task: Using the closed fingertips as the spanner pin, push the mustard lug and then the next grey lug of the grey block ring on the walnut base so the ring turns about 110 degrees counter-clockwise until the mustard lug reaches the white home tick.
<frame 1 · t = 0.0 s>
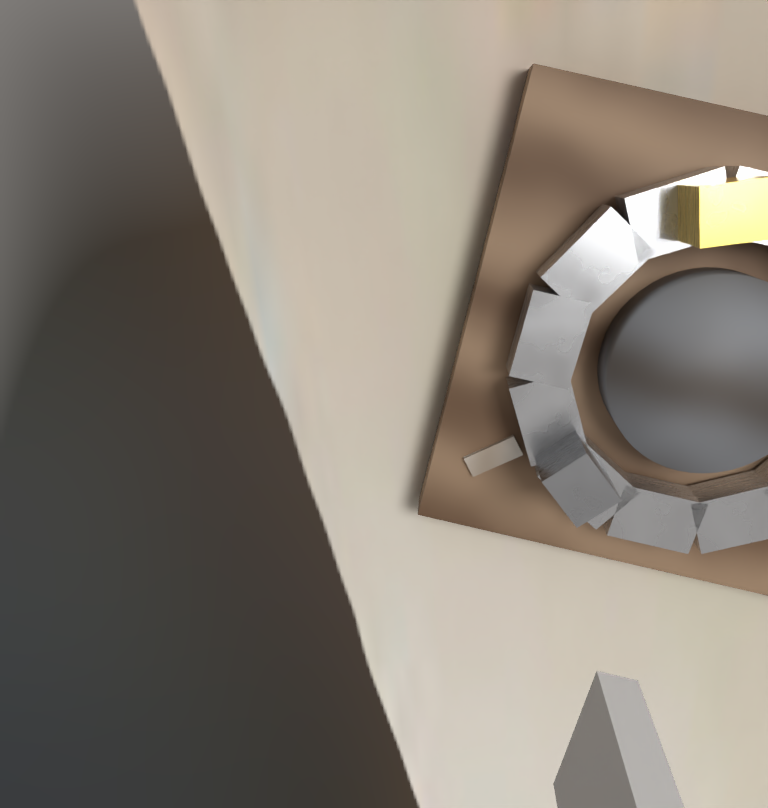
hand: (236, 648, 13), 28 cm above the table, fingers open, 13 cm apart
walnut base: (684, 354, 39), on the table
grey block ring: (715, 380, 34), point 5 cm above the table, hinge at 0.0°
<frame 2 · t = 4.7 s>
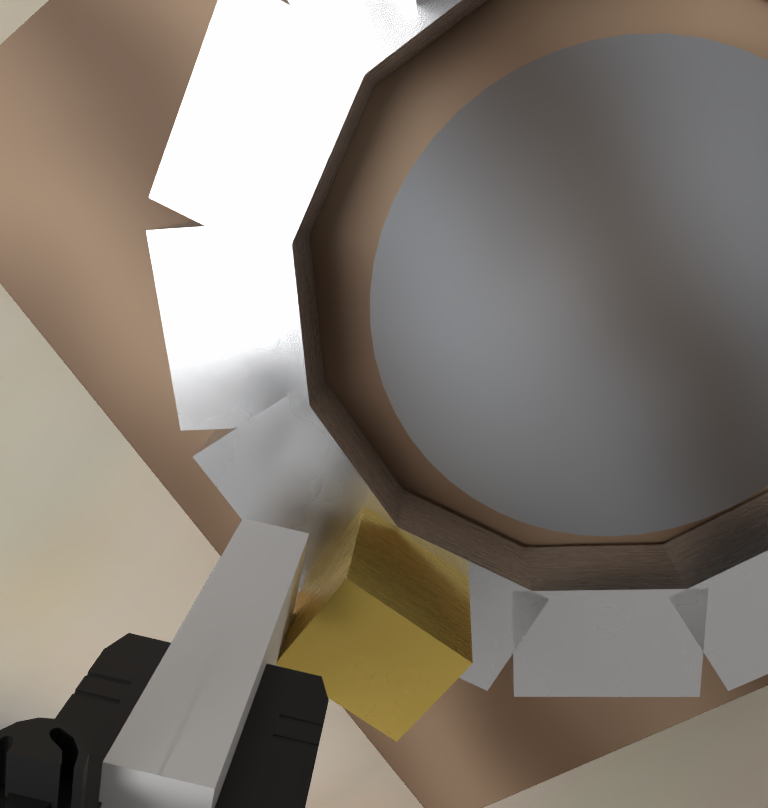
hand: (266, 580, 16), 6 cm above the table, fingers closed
walnut base: (580, 278, 18), on the table
grey block ring: (623, 315, 14), point 5 cm above the table, hinge at 0.0°, touching gripper
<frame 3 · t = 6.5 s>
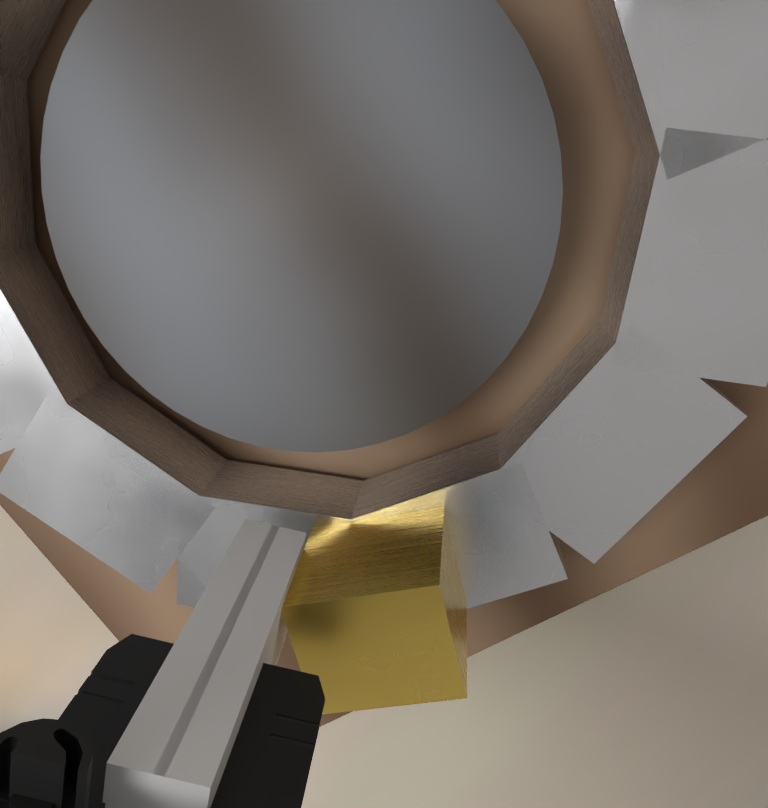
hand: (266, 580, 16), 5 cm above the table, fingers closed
walnut base: (334, 195, 18), on the table
grey block ring: (289, 210, 13), point 5 cm above the table, hinge at 49.4°, touching gripper
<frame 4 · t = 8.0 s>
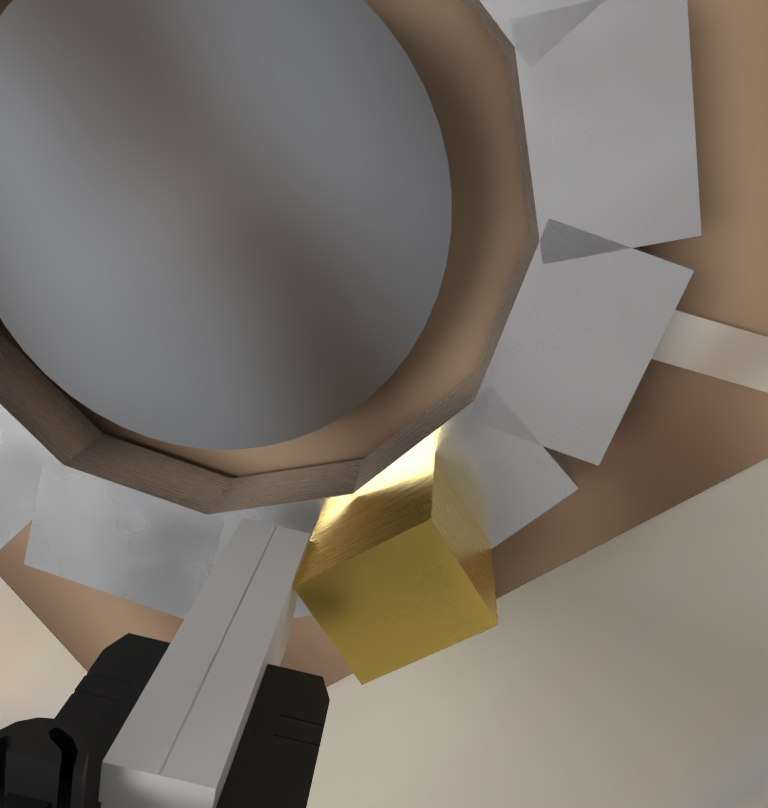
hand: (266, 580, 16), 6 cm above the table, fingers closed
walnut base: (256, 203, 18), on the table
grey block ring: (193, 217, 14), point 5 cm above the table, hinge at 66.6°
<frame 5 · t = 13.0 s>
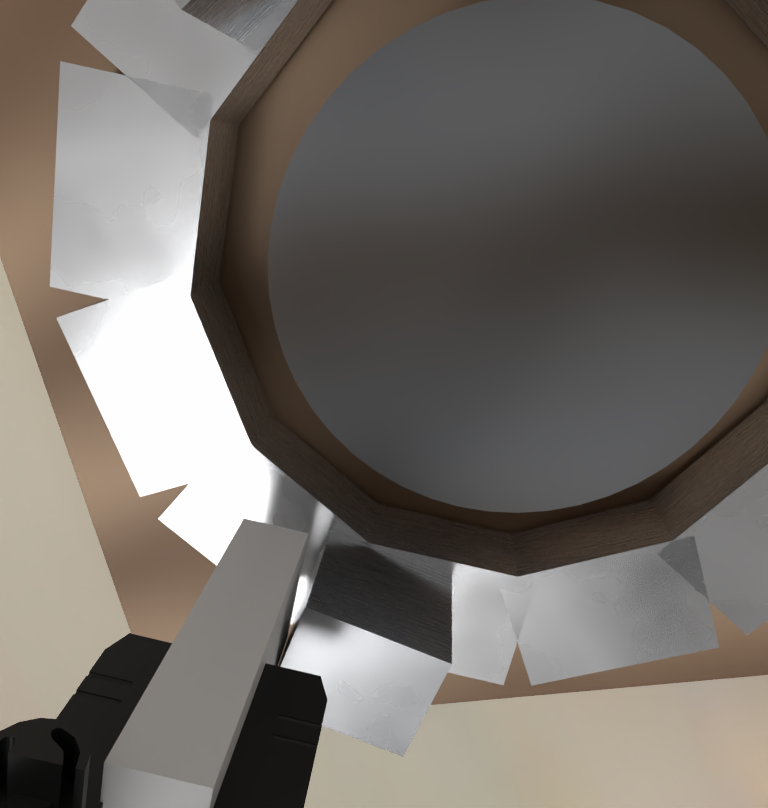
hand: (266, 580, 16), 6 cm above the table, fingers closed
walnut base: (503, 254, 18), on the table
grey block ring: (520, 286, 14), point 5 cm above the table, hinge at 67.6°, touching gripper
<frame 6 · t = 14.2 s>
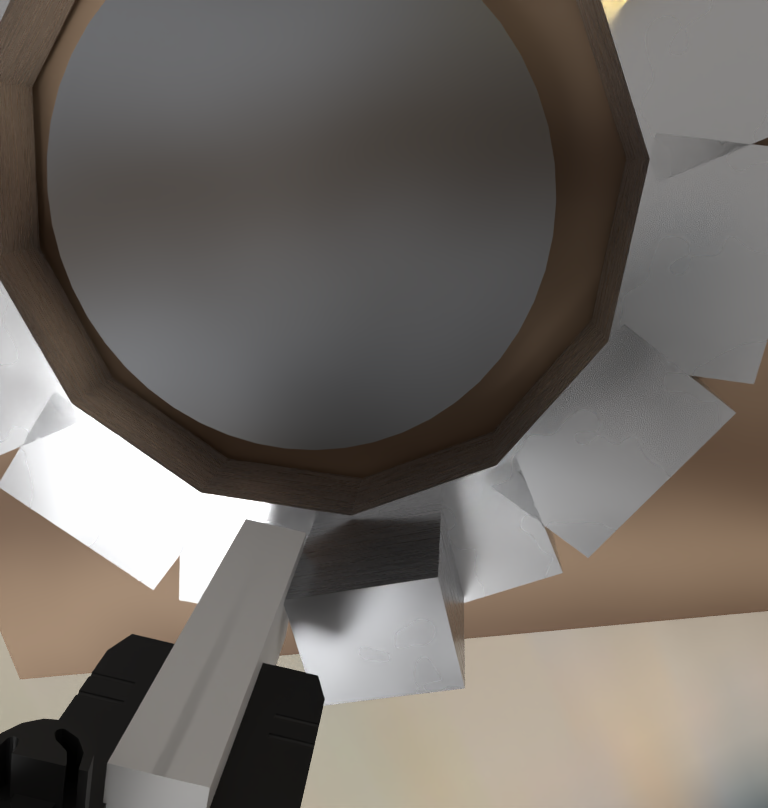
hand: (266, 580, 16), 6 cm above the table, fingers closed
walnut base: (332, 199, 18), on the table
grey block ring: (290, 213, 14), point 5 cm above the table, hinge at 102.9°, touching gripper
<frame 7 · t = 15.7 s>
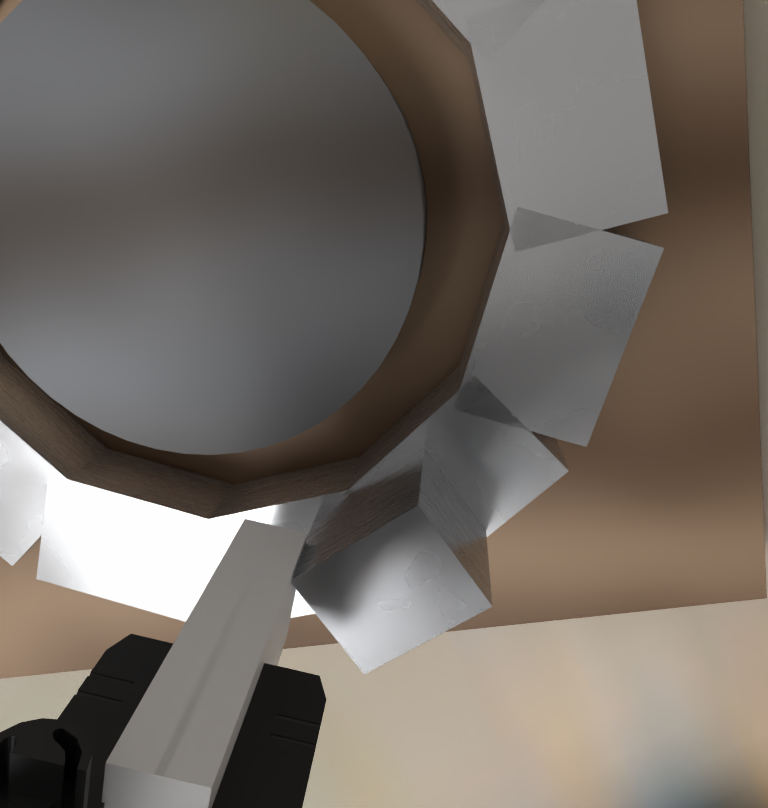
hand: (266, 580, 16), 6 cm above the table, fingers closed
walnut base: (241, 215, 19), on the table
grey block ring: (173, 229, 14), point 5 cm above the table, hinge at 124.2°, touching gripper
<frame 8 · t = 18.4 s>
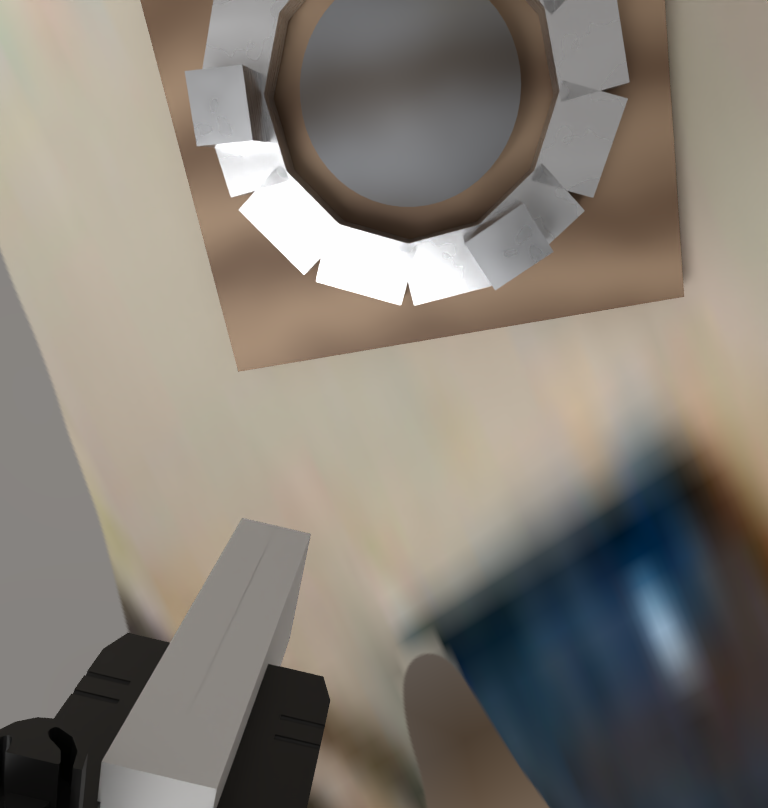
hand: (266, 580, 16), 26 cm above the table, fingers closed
walnut base: (413, 100, 37), on the table
grey block ring: (408, 91, 32), point 5 cm above the table, hinge at 124.2°
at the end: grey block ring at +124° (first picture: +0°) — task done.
